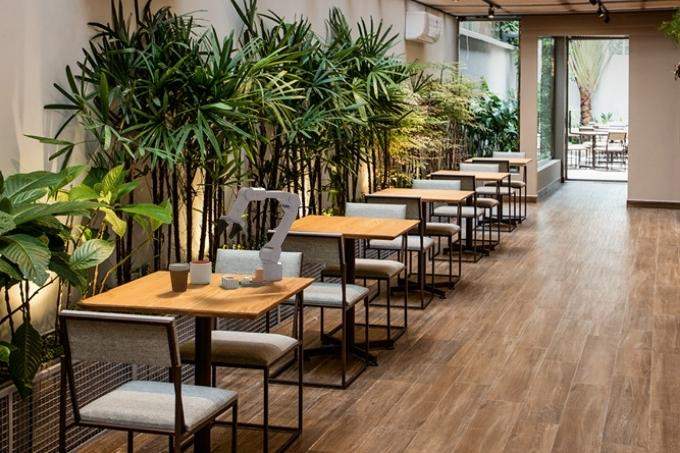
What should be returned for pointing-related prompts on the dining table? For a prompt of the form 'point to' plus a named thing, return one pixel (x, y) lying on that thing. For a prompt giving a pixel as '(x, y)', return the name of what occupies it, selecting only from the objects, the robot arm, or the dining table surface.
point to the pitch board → (238, 283)
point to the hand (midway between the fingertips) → (224, 236)
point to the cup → (200, 272)
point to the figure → (258, 276)
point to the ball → (245, 280)
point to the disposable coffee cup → (179, 276)
